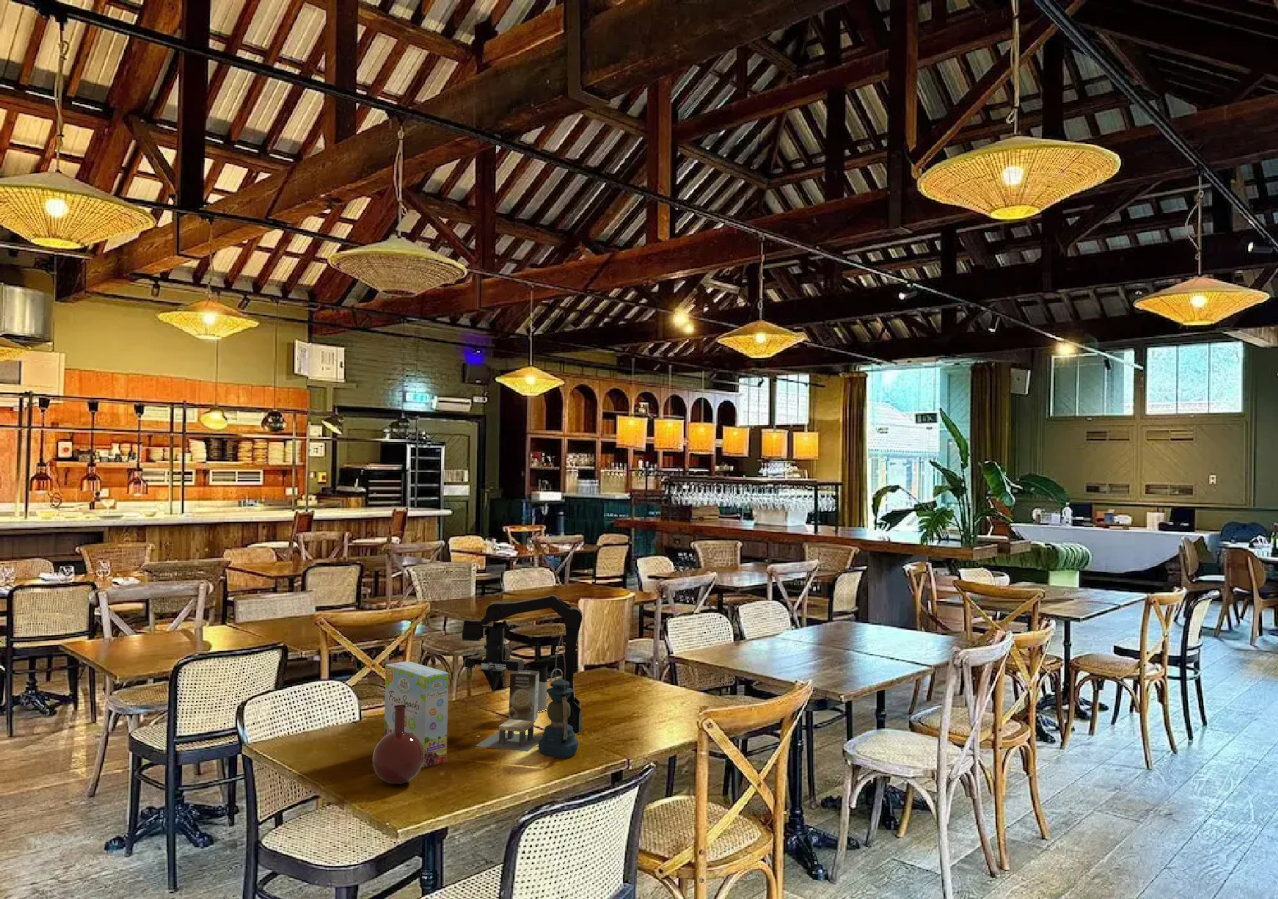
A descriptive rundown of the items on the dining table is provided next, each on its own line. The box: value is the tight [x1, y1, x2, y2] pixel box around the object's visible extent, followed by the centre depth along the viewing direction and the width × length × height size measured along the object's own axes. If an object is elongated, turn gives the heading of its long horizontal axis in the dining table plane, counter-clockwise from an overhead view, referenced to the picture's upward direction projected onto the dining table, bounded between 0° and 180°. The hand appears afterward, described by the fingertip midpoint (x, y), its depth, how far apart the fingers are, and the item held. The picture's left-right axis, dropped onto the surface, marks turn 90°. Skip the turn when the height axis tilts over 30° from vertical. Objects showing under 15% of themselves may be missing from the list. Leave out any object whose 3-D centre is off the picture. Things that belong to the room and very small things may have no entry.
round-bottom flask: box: [372, 705, 424, 785], centre depth 231 cm, size 13×13×20 cm
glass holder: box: [525, 664, 563, 711], centre depth 311 cm, size 9×14×15 cm, turn 115°
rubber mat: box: [475, 731, 543, 752], centre depth 269 cm, size 17×16×1 cm
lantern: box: [537, 634, 579, 759], centre depth 260 cm, size 14×12×35 cm
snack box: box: [383, 660, 450, 769], centre depth 253 cm, size 22×9×26 cm, turn 47°
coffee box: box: [507, 669, 539, 722], centre depth 296 cm, size 9×6×16 cm
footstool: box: [498, 719, 535, 747], centre depth 268 cm, size 6×8×8 cm
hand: (493, 690), depth 282 cm, fingers closed
